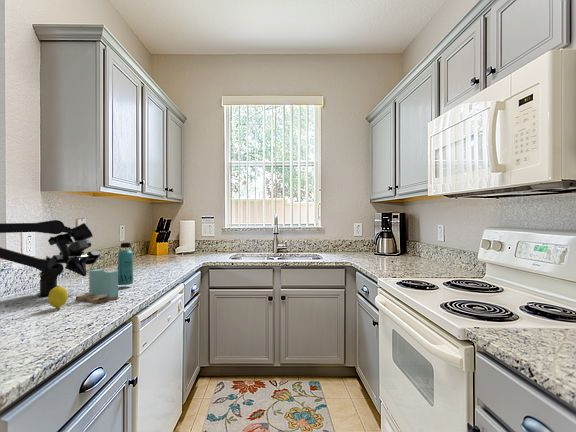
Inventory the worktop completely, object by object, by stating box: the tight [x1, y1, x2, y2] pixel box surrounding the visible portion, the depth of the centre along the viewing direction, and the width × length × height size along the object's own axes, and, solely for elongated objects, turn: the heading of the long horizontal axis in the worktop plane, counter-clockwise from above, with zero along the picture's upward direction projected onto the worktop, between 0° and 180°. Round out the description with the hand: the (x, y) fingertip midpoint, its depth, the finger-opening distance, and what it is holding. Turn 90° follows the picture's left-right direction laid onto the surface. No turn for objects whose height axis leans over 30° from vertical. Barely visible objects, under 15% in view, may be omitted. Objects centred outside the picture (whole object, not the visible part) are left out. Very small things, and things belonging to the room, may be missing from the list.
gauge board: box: [75, 294, 119, 304], centre depth 127 cm, size 14×8×1 cm, turn 67°
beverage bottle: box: [117, 242, 134, 286], centre depth 149 cm, size 6×7×20 cm
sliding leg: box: [83, 268, 105, 296], centre depth 129 cm, size 4×6×10 cm, turn 157°
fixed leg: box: [99, 270, 119, 298], centre depth 125 cm, size 4×6×10 cm, turn 157°
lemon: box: [47, 285, 69, 310], centre depth 114 cm, size 6×6×8 cm
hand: (84, 275), depth 132 cm, fingers closed
